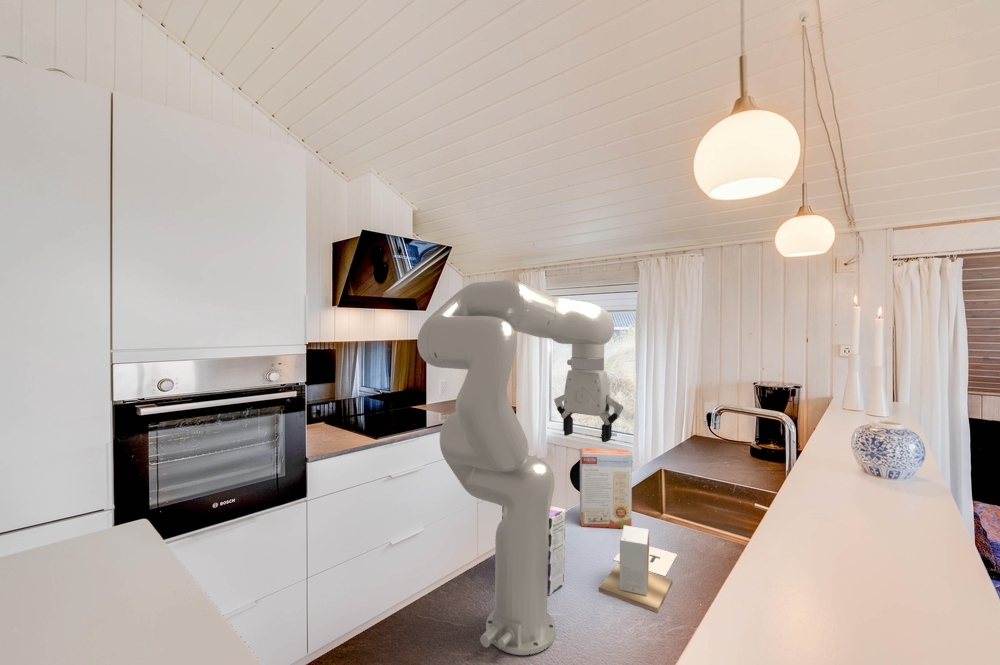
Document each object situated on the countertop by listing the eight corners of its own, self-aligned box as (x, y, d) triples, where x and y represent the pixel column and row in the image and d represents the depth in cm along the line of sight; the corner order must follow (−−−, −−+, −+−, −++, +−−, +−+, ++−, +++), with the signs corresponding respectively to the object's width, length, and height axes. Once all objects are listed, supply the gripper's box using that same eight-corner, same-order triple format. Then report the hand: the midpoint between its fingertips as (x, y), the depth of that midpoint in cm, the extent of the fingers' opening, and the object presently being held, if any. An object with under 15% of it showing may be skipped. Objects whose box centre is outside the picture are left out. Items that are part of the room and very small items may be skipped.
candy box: (499, 571, 98) (500, 498, 98) (516, 561, 102) (517, 491, 102) (549, 597, 88) (550, 516, 88) (565, 585, 93) (566, 508, 93)
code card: (665, 576, 96) (665, 576, 96) (613, 560, 103) (613, 559, 103) (677, 554, 106) (677, 553, 106) (629, 540, 113) (629, 540, 113)
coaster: (657, 612, 84) (657, 608, 84) (598, 591, 91) (599, 587, 91) (672, 583, 94) (672, 580, 94) (618, 566, 100) (618, 562, 100)
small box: (647, 596, 87) (647, 545, 87) (618, 590, 89) (619, 539, 90) (649, 576, 95) (649, 528, 95) (622, 571, 97) (623, 524, 97)
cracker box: (627, 520, 125) (628, 448, 126) (631, 530, 119) (632, 454, 120) (578, 518, 127) (579, 447, 127) (580, 527, 121) (581, 452, 121)
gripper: (548, 364, 104) (546, 434, 104) (616, 368, 94) (615, 447, 93) (563, 362, 110) (562, 429, 110) (629, 366, 100) (628, 440, 99)
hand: (586, 437), depth 102 cm, fingers open, 9 cm apart
